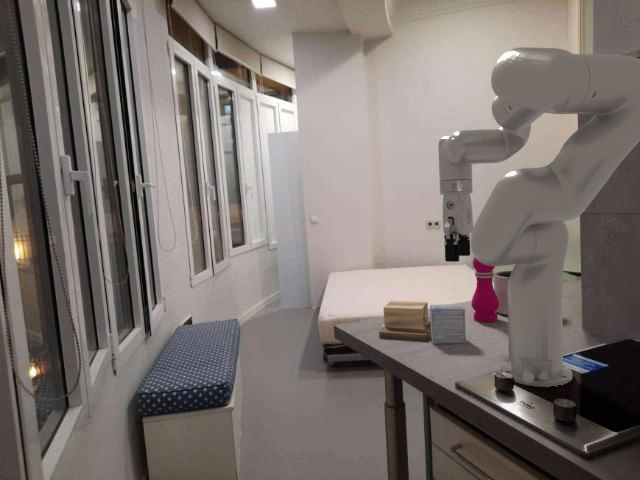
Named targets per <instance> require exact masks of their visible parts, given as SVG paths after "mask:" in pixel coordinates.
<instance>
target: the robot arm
mask: <svg viewBox="0 0 640 480" xmlns="http://www.w3.org/2000/svg"><path fill="white" fill-rule="evenodd" d="M490 78H491V79H490V84H491V88H492V91H493V93H494V94H495V96H494V99H493V100H492V103H491V113H492V117H493V119H494V120H495V122H496V123H497V124H498V125H499V126H500V127H499V128H496V129H495V128H493V129H491V128H490V129H463V130H462V129H461V130H458V131H455V132H453V133H452V134H451V135H450V134H449V135H446V136H443V137H440V139H439V140H438V174H439V175H438V176H439V177H438V178H439V195H441V196H442V195H443V196H442V197H443V198H442V230H443V231H442V232H443V238H444V259H445V262H449V263H450V262H451V263H452V262H453V263H454V262H455V263H457V262H459V261H460V257H462V256H463V257H469V256H471V252H472V254H473V256H474V257H475V258H476V259H477V260H478V261H479V262H481V263H483V264H485V265H488V266H495V267H504V266H511V265H514V266H513V268H512V270H511V271H512V272H511V275H510V277H509V281H508V316H507V324H508V325H507V330H508V331H507V332H508V360H506V361H504V362H503V363H502V364H501V365H500V373H501V372H509V373H511V374H513V375H514V379H515V382H514V383H517V384H521V385H524V386H531V387H536V388H537V387H538V388H539V387H540V388H552V387H551V386H555V387H559V386H558V385H561V386H565V385H567V384H569V383H570V382H572V381H573V372H572V369H570V368H569V367H568V366H566V365H565V364H564V350H563V349H564V345H563V344H564V342H563V341H564V334H563V333H564V332H563V329H564V327H563V325H564V324H563V321H564V318H563V278H564V274H563V273H564V265H565V259H566V255H567V251H568V244H569V230H568V227H567V225H566V223H565V222H568V221H572V220H575V219H577V218H578V217H580V216H581V215H582V214H583V213H584V212H585V211H586V209H587V208H588V207H589V206H590V204H591V203H592V202H593V201H594V199H595V197H596V196H597V195H598V193H600V192H601V190H602V189H603V187H604V186H605V185H606V183H607V182H608V181H609V180H610V178H611V176H612V175H613V173H614V172H615V171H616V169H617V168H618V167H619V165H620V164H621V163H622V162H623V160H625V158H626V157H627V156H628V155H629V154H630V152H631V151H632V150H634V148H635V147H636V146H637V144H639V143H640V58H639V57H635V56H630V55H623V54H605V53H604V54H603V53H602V54H601V53H600V54H593V53H592V54H589V53H588V54H587V53H585V54H584V53H572V52H570V51H568V50H566V49H564V48H556V47H531V46H530V47H527V46H526V47H525V46H524V47H521V46H520V47H515V48H512V49H509V50H508V51H506V52H504V53H503V54H502V55H501V56H500V58H499V59H497V62H496V63H495V65H494V67H493V69H492V71H491V76H490ZM543 114H552V115H553V114H554V115H591V114H594V115H593V117H592V118H591V119H590V120H589V121H587V122H586V123H584V124H583V125H582V126H581V127H579V128H578V129H577V130H576V131H574V132H573V133H572V134H571V135H570V136H569V137H568V139H567V140H566V141H565V142H564V143H563V145H562V147H561V149H560V150H559V152H558V153H557V155H556V156H555V158H554V159H552V161H551V162H550V163H549V164H548V165H544V166H541V167H526V168H525V167H524V168H518V169H514V170H512V171H510V172H508V173H506V174H504V176H502V177H501V178H500V179H499V180H498V182H497V183H496V184H495V186H494V187H493V189H492V191H491V193H490V194H489V197H488V199H487V200H486V202H485V204H484V206H483V207H482V210H481V212H480V214H479V215H478V217H477V219H476V221H475V223H474V219H473V206H472V199H471V198H472V197H471V194H473V165H476V164H477V165H479V164H483V165H484V164H498V163H502V162H505V161H506V160H508V159H510V158H511V157H513V156H514V155H515V154H517V153H518V152H520V150H522V149H523V148H524V147H525V146H526V143H528V140H529V138H530V134H531V129H532V124H533V123H534V122H535V121H537V120H538V119H539V118H540V117H542V115H543ZM470 235H471V236H470ZM569 381H570V382H569ZM568 382H569V383H568ZM566 383H567V384H566ZM564 384H565V385H564Z"/></svg>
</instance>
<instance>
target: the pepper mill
mask: <svg viewBox="0 0 640 480" xmlns="http://www.w3.org/2000/svg"><path fill="white" fill-rule="evenodd" d="M472 267H473V269H475V271H474V277H476V287H475V290H474V293H473V295H472V297H471V298H472V299H471V308H472V309H473V310H474V312H473V320H474V321H475V322H477V321H479V322H478V323H484V322H487V323H489V322H490V323H494V322H497V321H498V319H499V317H498V312H496V310H497V309H498V308H499V301H498V297H497V295H496V293H495V291H494V283H493V279H494V274H495V271H494V270H495V268H496V266H488V265H485V264H483V263H481V262H479V261H478V260H477V259H476V258H475V256H474V257H473V259H472Z"/></svg>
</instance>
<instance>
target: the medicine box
mask: <svg viewBox="0 0 640 480" xmlns="http://www.w3.org/2000/svg"><path fill="white" fill-rule="evenodd" d="M429 309H430V310H429V313H430V317H431V335H430V337H431V344H434V345H436V344H466V343H467V337H466V336H467V335H466V308H465V307H464V304H461V303H460V304H458V303H456V304H453V303H452V304H451V303H449V304H431V305H430V306H429Z"/></svg>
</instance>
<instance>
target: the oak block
mask: <svg viewBox="0 0 640 480" xmlns="http://www.w3.org/2000/svg"><path fill="white" fill-rule="evenodd" d="M428 303H429V302H428V301H415V300H413V301H412V300H390V301H389V302H388V303H387V304H385V306H383V322H384V323H383V325H384V326H393V327H410V328H423V327H424V325H425V324H426V322H427V321H428V317H429V310H428V309H429V308H428V306H429V305H428Z"/></svg>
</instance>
